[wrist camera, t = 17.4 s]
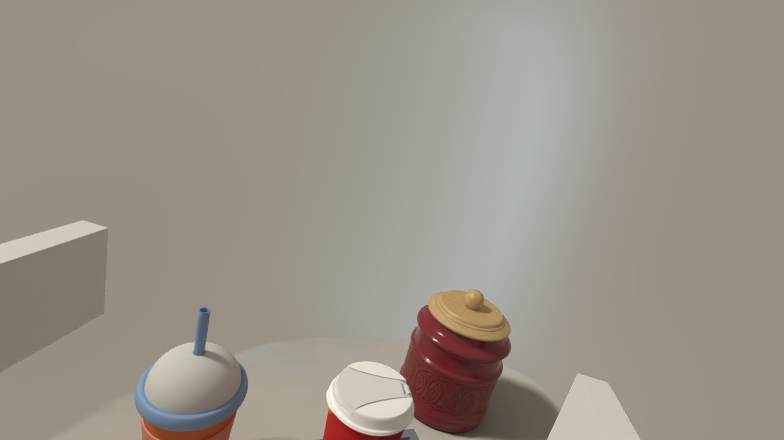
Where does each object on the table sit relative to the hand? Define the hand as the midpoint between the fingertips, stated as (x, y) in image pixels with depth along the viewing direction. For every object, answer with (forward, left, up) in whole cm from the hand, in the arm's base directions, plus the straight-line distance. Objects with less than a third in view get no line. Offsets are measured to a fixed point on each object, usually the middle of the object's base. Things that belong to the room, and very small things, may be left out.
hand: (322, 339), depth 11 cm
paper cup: (+16, -11, -31) cm, 37 cm away
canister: (+29, -30, -32) cm, 53 cm away
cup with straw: (+23, +3, -32) cm, 40 cm away
